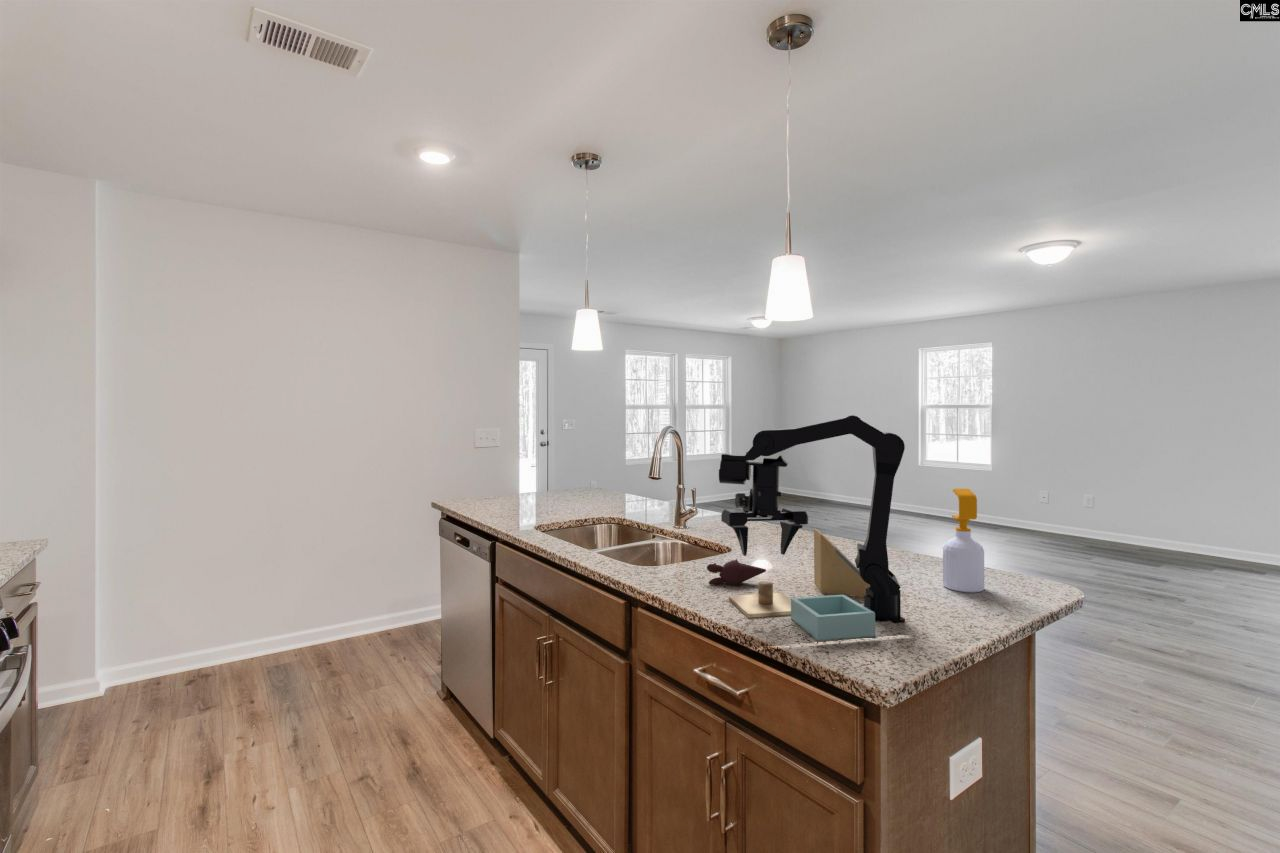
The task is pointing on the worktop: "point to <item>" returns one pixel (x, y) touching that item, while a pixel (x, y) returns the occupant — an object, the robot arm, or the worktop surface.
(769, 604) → the lid
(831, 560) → the sandwich container
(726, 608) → the worktop surface
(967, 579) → the soap bottle
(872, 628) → the light blue box
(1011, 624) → the worktop surface
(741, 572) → the icecream
